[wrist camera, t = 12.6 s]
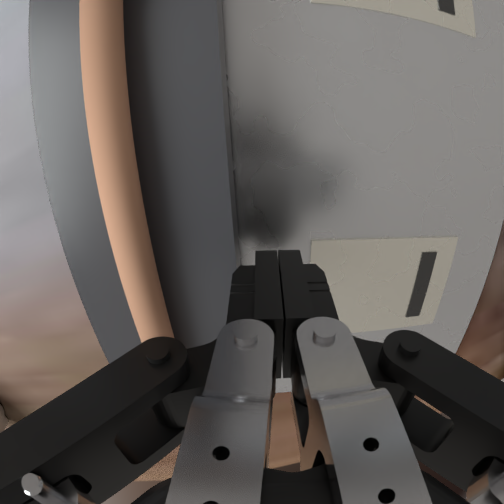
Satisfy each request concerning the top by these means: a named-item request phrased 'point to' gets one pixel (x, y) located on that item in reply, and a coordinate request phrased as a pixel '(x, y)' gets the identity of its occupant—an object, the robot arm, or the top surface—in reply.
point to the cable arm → (138, 162)
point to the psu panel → (372, 151)
